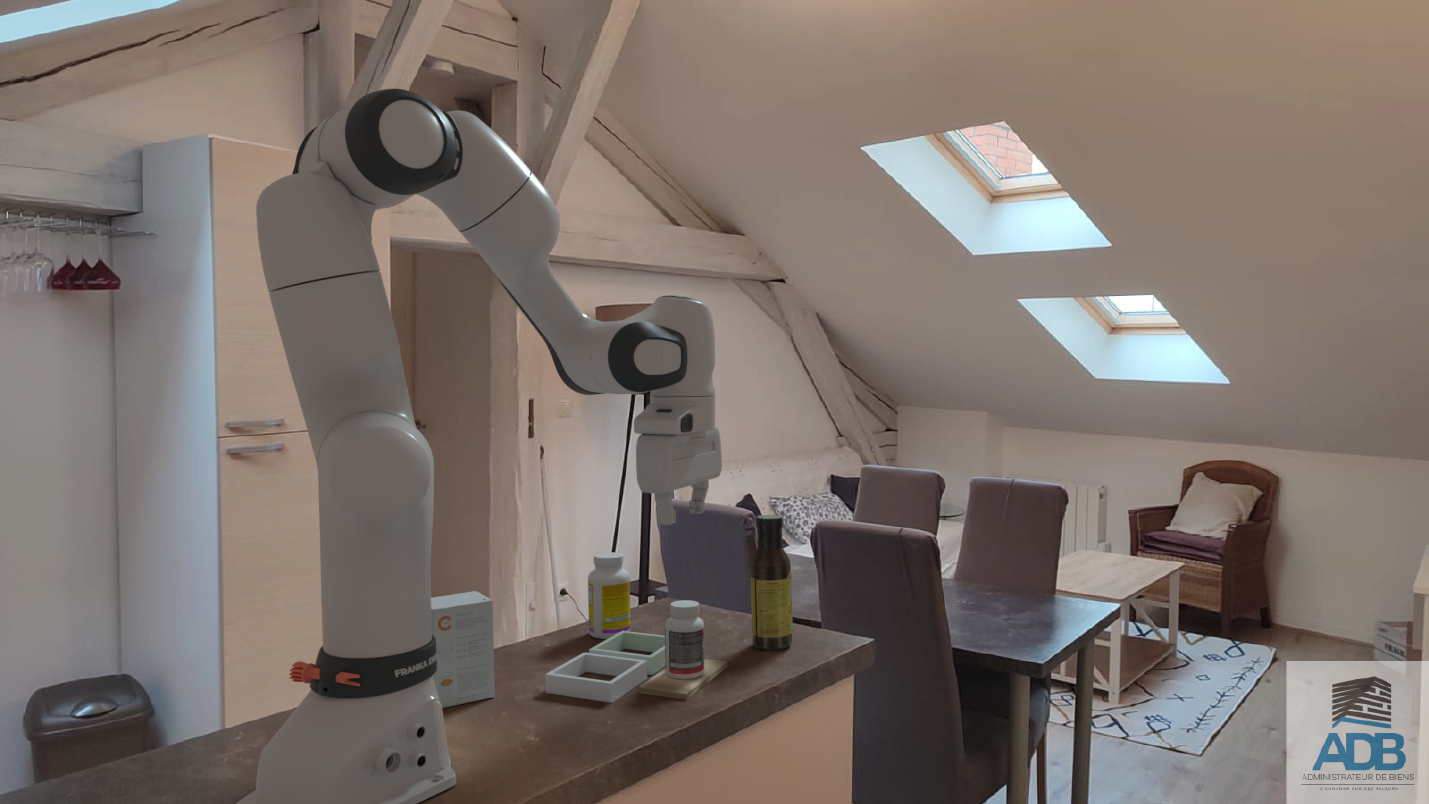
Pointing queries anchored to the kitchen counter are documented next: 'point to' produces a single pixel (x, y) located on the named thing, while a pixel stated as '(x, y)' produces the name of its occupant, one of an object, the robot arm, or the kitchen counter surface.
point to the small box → (463, 647)
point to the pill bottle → (684, 641)
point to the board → (681, 682)
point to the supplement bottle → (608, 596)
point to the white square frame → (607, 691)
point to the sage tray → (635, 648)
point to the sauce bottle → (771, 587)
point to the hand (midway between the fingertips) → (682, 518)
